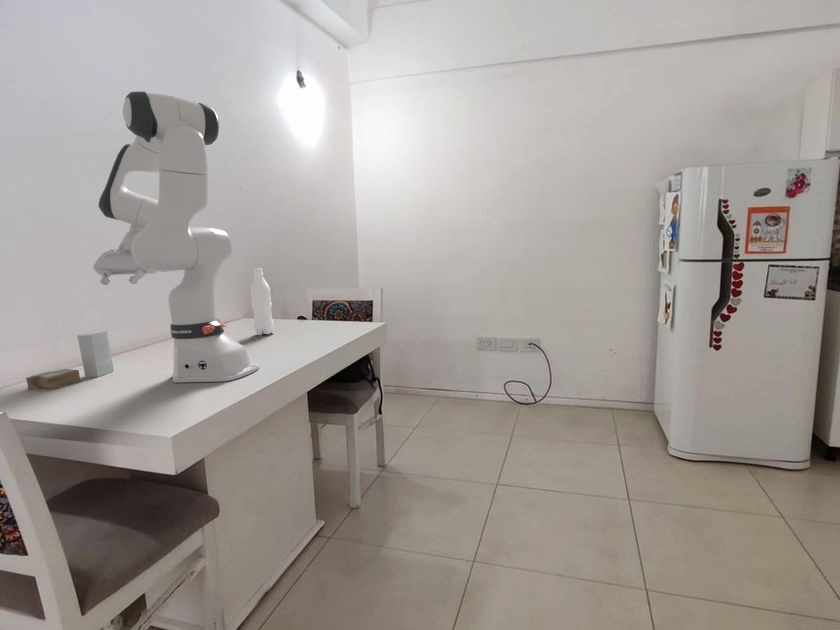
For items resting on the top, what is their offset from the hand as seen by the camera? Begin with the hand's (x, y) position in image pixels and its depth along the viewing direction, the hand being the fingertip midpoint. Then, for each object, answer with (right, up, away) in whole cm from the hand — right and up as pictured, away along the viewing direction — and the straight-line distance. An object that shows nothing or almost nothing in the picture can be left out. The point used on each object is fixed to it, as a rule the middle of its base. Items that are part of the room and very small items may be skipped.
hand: (118, 283), depth 145 cm
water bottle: (+32, -17, +39) cm, 53 cm away
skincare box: (0, -27, -8) cm, 28 cm away
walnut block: (-6, -28, -17) cm, 33 cm away
